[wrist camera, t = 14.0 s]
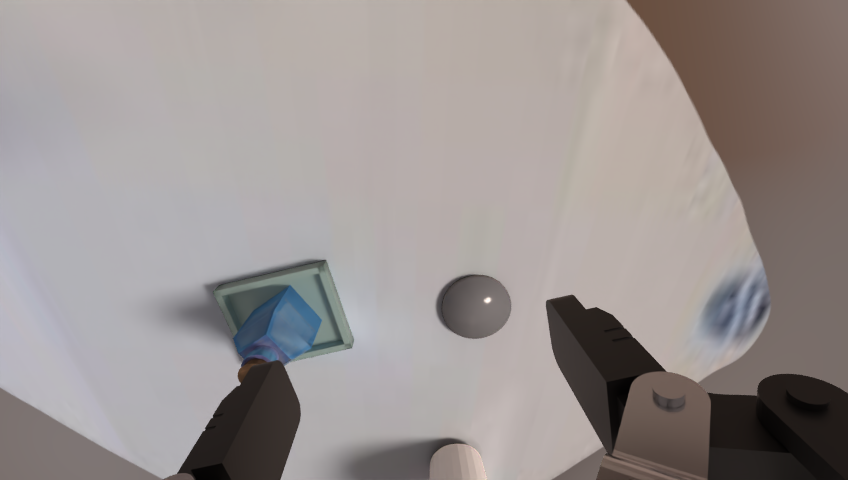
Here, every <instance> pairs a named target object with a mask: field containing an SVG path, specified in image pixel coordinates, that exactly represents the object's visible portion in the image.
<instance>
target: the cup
mask: <svg viewBox="0 0 848 480" xmlns="http://www.w3.org/2000/svg"><path fill="white" fill-rule="evenodd" d="M430 480H487V477H486V473H485V470H484V466H483V463H482V459H481V457H480V454H479V453H478V452H477V451H476V450H475V449H474V448H473V447H471V446H469V445H465V444H450V445H447V446H443V447H442V448H440V449H439V450H438V451H437V452H436V453H435V454H434V455H433V457H432V458H431V462H430Z"/></svg>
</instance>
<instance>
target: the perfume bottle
mask: <svg viewBox="0 0 848 480" xmlns="http://www.w3.org/2000/svg"><path fill="white" fill-rule="evenodd" d="M321 322H322V319H321V318H320V317H319V316H318V315H317V314H316V313H315V312H314V310H313V309H312V308H311V307H310V306H309V305H308V304H307V303H306V302H305V301H304V299H303V298H302V297H301V296H300V295H299V294H298V293H297V292H296V291H295V290H294V289H293V287H292V286H291V285H290V286H288V287H287V288H285V289H284V290H283V291H281V292H280V293H278V294H277V295H275V296H274V297H272V298H271V299H269V300H268V301H267V302H265V303H264V304H262V305H261V306H259V307H258V308H256V309H255V310H254V311H253V312H252V313H251V314H250V316H249V317H248V319H247V320H246V321H245V323H244V324H243V325H242V327H241V328H240V329H239V331H238V332H237V334H236V335H235V336H234V338H233V339H234V342H235V345H236V348H237V351H238V353H239V354H240V355H241V356H242V357H243V358H244V360H243V362H242V364H241V368H240V369H239V372H238V379H239V381H240V383H242V381H243V379H244V378H245V376H246V374H247V373H248V371H249V369H250V368H251V367H252V366H253V365H257V364H262V363H266V362H271V361H275V360H279V361H281V362H282V364H283V365H284V366H285V365H286V364H288V363H289V362H291V361H292V360H294V359H296V358H297V357H299V356H300V355H302V354H303V353H305V352H306V351H308V350H309V349H311V348H312V345H313V343H314V340H315V337H316V335H317V332H318V330H319V327H320V325H321Z"/></svg>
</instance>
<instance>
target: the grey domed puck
mask: <svg viewBox="0 0 848 480" xmlns="http://www.w3.org/2000/svg"><path fill="white" fill-rule="evenodd" d="M442 312H443V317H444V320H445V322H446V324H447V326H448V327H449V328H450V329H451V330H452V331H453V332H454V333H456V334H458V335H460V336H462V337H465V338H472V339H477V338H484V337H487V336H490V335H492V334H494V333H496V332H497V331H498V330H500V329H501V328H502V327H503V326H504V325H505V323H506V322H507V320H508V318H509V316H510V312H511V300H510V297H509V294H508V292H507V290H506V289H505V287H504V286H503V285H502V284H501V283H500V282H499V281H497V280H496V279H494V278H492V277H489V276H485V275H472V276H467V277H464V278H462V279H460V280H458V281H457V282H455V283H454V284H453V285H452V286H451V287H450V288H449V289H448V290H447V292H446V294H445V296H444V298H443V302H442Z"/></svg>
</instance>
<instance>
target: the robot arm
mask: <svg viewBox="0 0 848 480" xmlns="http://www.w3.org/2000/svg"><path fill="white" fill-rule="evenodd" d="M546 309H547V316H548V323H549V330H550V337H551V344H552V349H553V353H554V356H555V359H556V362H557V364H558V366H559V368H560V370H561V372H562V373H563V375H564V377H565V379H566V380H567V382H568V384H569V386H570V387H571V389H572V391H573V393H574V395H575V396H576V398H577V400H578V402H579V403H580V405H581V407H582V409H583V410H584V412H585V414H586V416H587V418H588V419H589V421H590V423H591V425H592V426H593V428H594V430H595V432H596V433H597V435H598V437H599V439H600V441H601V442H602V444H603V446H604V448H605V449H606V451H607V453H608V454H605V455H604V457H603V459H602V462H601V465H600V468H599V472H598V475H597V478H596V480H848V393H846V392H845V391H843V390H842V389H840V388H838V387H836V386H834V385H832V384H830V383H827V382H825V381H822V380H819V379H816V378H812V377H808V376H803V375H796V374H778V375H773V376H769V377H767V378H765V379H763V380H762V381H761V382H760V383H759V385H758V390H757V396H751V395H723V394H713V393H707V392H706V391H705V389H703V387H701V386H700V385H699V384H698V383H696V382H695V381H693V380H691V379H689V378H687V377H685V376H682V375H679V374H675V373H670V372H666V371H665V370H664V368H663V367H662V366H661V365H660V364H659V363H658V362H657V361H656V360H655V359H654V358H653V357H652V356H651V355H650V354H649V353H648V352H647V351H646V350H645V349H644V347H643V346H642V345H641V344H640V343H639V342H638V341H637V340H636V339H635V338H633V337H632V335H631V334H630V333H629V332H628V331H627V330H626V329H624V327H623V325H622V324H621V323H620V322H619V321H618V320H617V319H616V318H615V317H614V316H613V315H611V314H609V313H607V312H605V311H603V310H601V309H599V308H597V307H595V308H591V309H585V308H584V307H583V305H582V304H581V303H580V302H579V301H578V300H577V298H576V297H575V296H574V295H568V296H563V297H559V298H555V299H550V300H547V301H546ZM300 416H301V411H300V404H299V400H298V398H297V395H296V393H295V391H294V388H293V386H292V384H291V381H290V379H289V377H288V374H287V372H286V370H285V367H284V365H283V364H282V362H281V361H279V360H275V361H271V362H266V363H262V364H257V365H253V366H252V367H251V368H250V369H249V371H248V373H247V374H246V376H245V378H244V379H243V381H242V383H241V385H240V386H237V387H236V388H235V389H234V390H233V391H232V392H231V393H230V394H228V395H227V396H226V397H225V398H224V399H223V400H222V402H221V403H220V405H219V407H218V408H217V410H216V411H215V413H214V415H213V418H211V419H210V421H209V423H208V424H207V426H206V428H205V429H206V430H205V431H203V432H202V434H201V436H200V437H199V439H198V441H197V442H196V444H195V445H194V447H193V449H192V450H191V452H190V453H189V455H188V457H187V458H186V460H185V462H184V463H183V465H182V466H181V468H180V470H179V471H178V473H177V474H175V475H172V476H169V477H167V478H165V479H163V480H280V479H281V476H282V473H283V470H284V467H285V464H286V461H287V458H288V455H289V452H290V449H291V446H292V443H293V440H294V437H295V434H296V431H297V428H298V425H299V422H300Z"/></svg>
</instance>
